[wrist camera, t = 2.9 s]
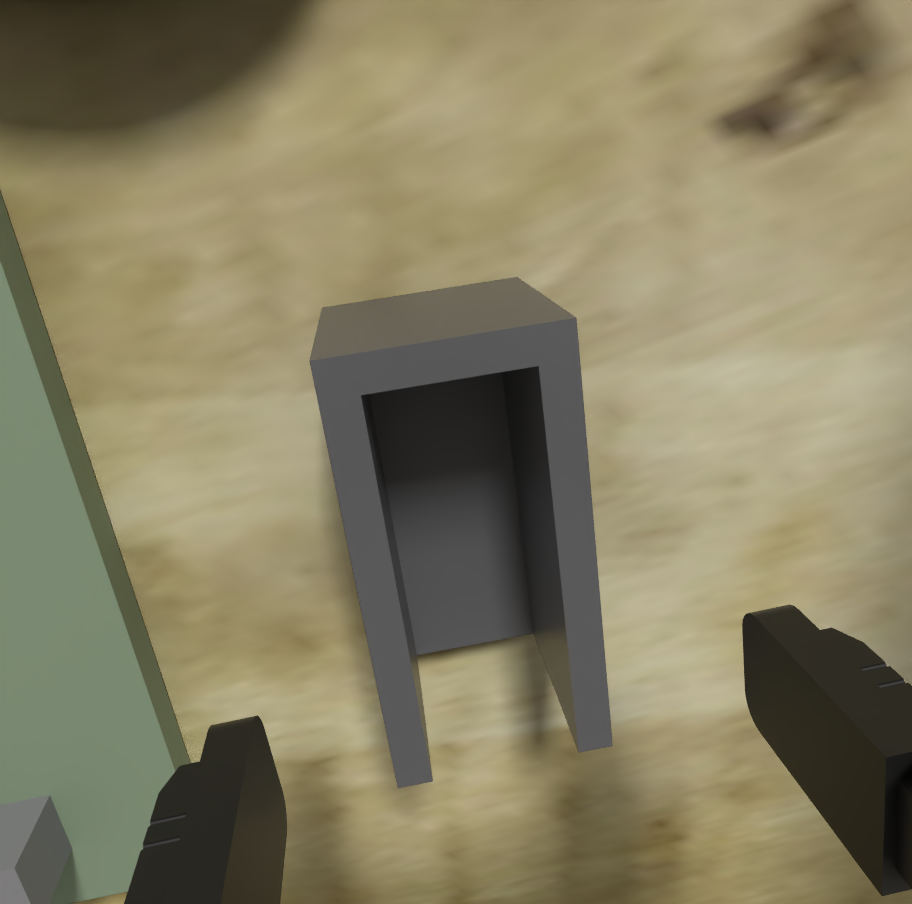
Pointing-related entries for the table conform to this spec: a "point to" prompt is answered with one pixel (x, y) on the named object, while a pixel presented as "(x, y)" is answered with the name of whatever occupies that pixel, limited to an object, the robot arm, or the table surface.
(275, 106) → the table surface
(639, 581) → the table surface
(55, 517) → the chute mount
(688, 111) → the table surface
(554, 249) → the table surface
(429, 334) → the chute
